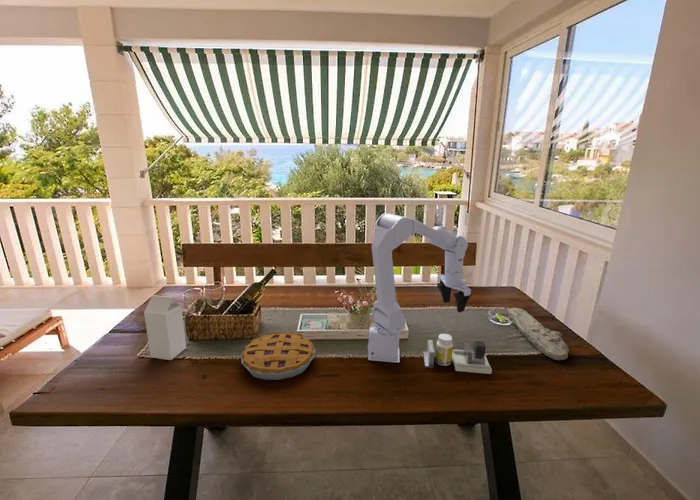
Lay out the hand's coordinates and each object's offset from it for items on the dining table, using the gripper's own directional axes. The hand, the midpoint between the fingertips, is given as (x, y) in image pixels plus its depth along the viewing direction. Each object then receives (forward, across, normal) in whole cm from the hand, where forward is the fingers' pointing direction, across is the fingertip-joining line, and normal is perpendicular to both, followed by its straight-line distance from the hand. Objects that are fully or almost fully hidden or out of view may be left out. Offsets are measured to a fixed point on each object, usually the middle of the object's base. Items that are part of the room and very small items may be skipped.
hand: (453, 306), depth 120 cm
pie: (+4, +5, +60) cm, 60 cm away
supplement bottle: (+9, -13, +14) cm, 21 cm away
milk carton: (+1, +21, +91) cm, 93 cm away
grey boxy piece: (+8, -17, +6) cm, 20 cm away
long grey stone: (+14, -10, -27) cm, 32 cm away
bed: (+10, -17, +7) cm, 21 cm away
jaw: (+9, -11, +17) cm, 22 cm away
